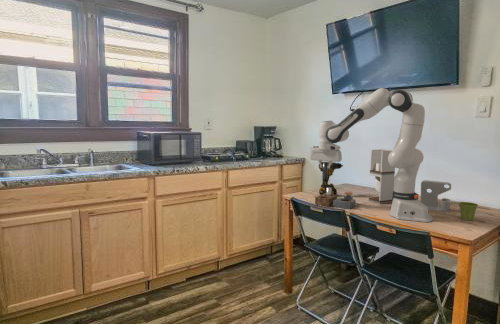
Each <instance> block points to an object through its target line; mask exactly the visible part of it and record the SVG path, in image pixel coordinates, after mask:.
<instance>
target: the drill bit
mask: <svg viewBox="0 0 500 324" xmlns="http://www.w3.org/2000/svg"><path fill="white" fill-rule="evenodd" d="M322 162H323V172H322V171H321V173H322V176H321V177H322V179H321V181H322V182H323V181H327V176H328V168H327V165H328V162H329V161H322Z"/></svg>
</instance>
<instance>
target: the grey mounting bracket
mask: <svg viewBox="0 0 500 324" xmlns="http://www.w3.org/2000/svg"><path fill="white" fill-rule="evenodd" d="M446 185H447V186H449V187H445V186H446ZM428 189H429V190H431V191H430V192H428V191H427V190H428ZM451 189H452V183H450V182H448V181H439V180H429V179H428V180H427V179H424V180H422V181H421V182H420V201H421V202H422V203H423V204H424V205H425V206H427V208H428V211H435V212H443V213H449V212H450V209H451V208H450V207H451V199H449V198H445V197H444V198H442V199H441V200H440V205H439V206H438V199H439V197H438V196H439V195H442V194H445V193H446V192H449V191H451Z"/></svg>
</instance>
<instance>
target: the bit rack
mask: <svg viewBox="0 0 500 324" xmlns="http://www.w3.org/2000/svg"><path fill="white" fill-rule="evenodd" d="M337 198H338V194H337V195H334V194H331V196H326V193H324V194H322V195H320V194H319V195H318V196H315V200H314V205H315V204H316V205H315V206H317V205H321V206H320V207H324V206H326V207H325V208H329V207H331V206H333V200H335V199H337Z"/></svg>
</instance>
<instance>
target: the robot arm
mask: <svg viewBox="0 0 500 324" xmlns="http://www.w3.org/2000/svg"><path fill="white" fill-rule="evenodd" d="M413 100H414V99H413V95H412V94H411V93H410V92H409V91H407V90H405V89H395V90H394V91H392V92H390V90H389V89H388V88H385V87H380V88H378V89H376V90H375V91H373V92H372V93H370V94H369V95H368V96H367V97H365V99H364V100H363V101H362V102H361V103H359V104H358V105H357V106H356V107H355V109H354V110H353V111H351V113H349V114H348V115H347V116H346V117H345V118H344V119H342V120H341V121H340V122H338V123H335V122H334V121H333V120H325V121H321V122H320V124H319V131H318V136H319V139H318V145H312V146H311V147H310V155H309V159H310V160H311V161H317V162H318V165H319V164H320V168H323V165H322V163H321V162H329V163H330V164H329V165H327V168H330V165H331V164H332V162H335V163H340V162H341V161H342V160H343V158H342V155H343V154H342V150H341V146H340V145H338V144H337V143H342V142H345V141H347V140H348V138H349V137H350V136H349V135H350V131H349V130H350V129H351V128H353V126H355V125H356V124H358V123H360V122H362V121H366V120H369V119H371V118H374V117H375V116H377V114H379V113H380V112H381V111H382V110H384V109H385V108H386V107H388V106H389V107H390V108H392V110H393V109H394V110H396V111H398V112H400V113H402V120H401V124H400V130H399V134H398V138H397V141H396V143H395V144H394V147H393V149H391V150H392V152H391V153H390V154H389V155H388V162H389V164H390V165H391V166H392V167H395V169H398V170H397V173H395V176H394V190H393V192H392V200H393V201H392V203H391V207H390V211H389V213H388V215H389V216H391V217H393V218H395V219H397V220H403V221H411V222H412V221H413V222H422V223H429V222H432V221H433V220H434V219H433V217H434V216H432V215H430V214H429V210H428V208H427V206H425V205H424V204H423V203H422V202H421V200H419V193H417V192H416V180H417V175H418V172H419V168H420V166H421V164H422V163H423V161H424V154H423V151H422V150H420V149H418V148H416V147H417V145H418V144H419V143H420V141H421V139H422V135H423V129H424V125H425V119H426V118H425V116H426V115H425V114H426V110H425V107H424V105H422V104H420V103H415V102H414V101H413Z"/></svg>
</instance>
